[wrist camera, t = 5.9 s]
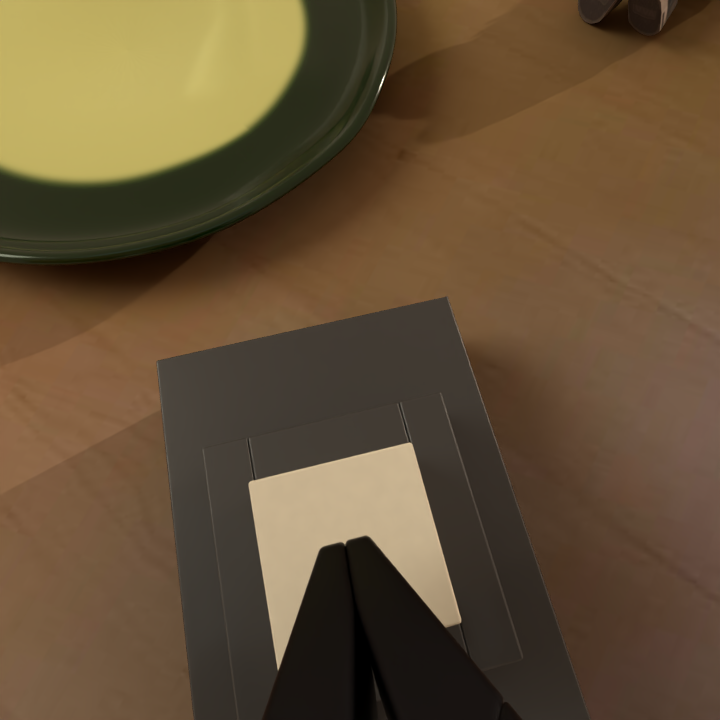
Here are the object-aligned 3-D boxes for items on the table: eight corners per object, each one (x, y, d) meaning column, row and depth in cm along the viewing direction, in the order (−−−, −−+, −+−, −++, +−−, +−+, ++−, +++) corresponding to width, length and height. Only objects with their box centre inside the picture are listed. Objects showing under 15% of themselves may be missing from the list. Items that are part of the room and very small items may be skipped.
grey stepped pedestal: (557, 729, 15) (671, 844, 10) (248, 822, 15) (177, 1005, 9) (432, 336, 20) (461, 259, 14) (192, 391, 19) (122, 332, 14)
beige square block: (442, 604, 12) (462, 623, 9) (295, 644, 11) (278, 674, 9) (402, 458, 13) (412, 441, 10) (268, 491, 13) (247, 481, 10)
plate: (-49, -112, 30) (-83, -165, 28) (395, -104, 30) (398, -158, 28) (-251, 283, 21) (-328, 251, 19) (392, 299, 21) (396, 269, 18)
